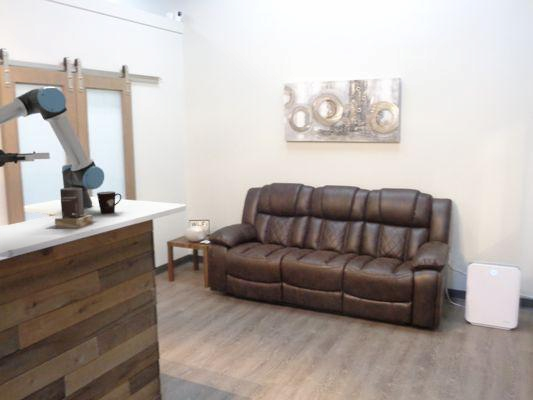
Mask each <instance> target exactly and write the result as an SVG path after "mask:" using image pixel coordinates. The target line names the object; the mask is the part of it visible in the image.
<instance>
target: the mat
mask: <svg viewBox="0 0 533 400" xmlns="http://www.w3.org/2000/svg"><path fill="white" fill-rule="evenodd" d="M95 223H98V221H95V220H93V223H91V224H89V225H93V224H95ZM89 225H86V226H89ZM86 226H83V227H80V228H78V227H56V226H55V225H51V226H49V227H45V228H44V229H45V230H79V229H81V228H84V227H86Z"/></svg>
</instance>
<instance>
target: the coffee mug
mask: <svg viewBox="0 0 533 400" xmlns="http://www.w3.org/2000/svg"><path fill="white" fill-rule="evenodd" d="M96 195H97V201H98V205H99V210H100V214H101V215H110V214H111V215H112V214H115V212H116V211H115V210H116V209H115V208H116V205H117V204H119V203H120V202H121V200H122V195H121V193H116V191H111V190H110V191H109V190H108V191H101V192H100V191H99V192H97V193H96ZM117 195H119V199H118V201H116V196H117Z"/></svg>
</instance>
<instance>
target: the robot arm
mask: <svg viewBox="0 0 533 400" xmlns="http://www.w3.org/2000/svg"><path fill="white" fill-rule="evenodd" d="M66 103H67V99H66V96H65V94H64V92H62V90H60V89H59V88H57V87H54V86H44V87H43V86H42V87H38V88H33V89H31V90H29V91H27V92H25V93H23V94H20V95H19V96H17V97H14V98H13V100H12V101H11V102H9V103H6V104H4V105H1V106H0V127H1V126H2V125H5V124H8V123H9V122H12V121H14V120H16V119H18V118H20V117H24V118H26V117H29V116H31V115H36V114H40V116H41V117H42V119H43V121H46V122H48V123H49V125H50V127H51V128H52V130H53V132H54V135H55V136H56V138H57V140H58V141H59V143H60V145H61V147H62V149H63V151H64V153H65V155H66V157H67V158H68V160H69V162H70V163H68V164H64V165H62V167H61V174H62V182H63V183H62V184H63V188H82V195H83V207H84V209H86V208H87V209H88V208H91V207H93V201H92V199H91V196H90V194H89V190H96V189H98V188H100V187H101V186H102V185H103V184H104V181H105V172H104V170H103V168H101V167H99V166H97V165H96V164H95V161H94V159H92V158H90V157H89V156H88V154H87V152H86V151H85V149H84V147H83V145H82V142H81V141H80V139H79V137H78V135H77V133H76V132H75V129H74V128H73V125H72V123H71V122H70V120H69V118H68V116H67V113H68V108H67V107H66ZM49 159H51V157H50V152H36V151H32V152H31V153H30V152H29V153H28V152H27V153H26V152H25V153H18V152H13V153H12V152H6V153H5V152H4V150H3V149H0V168H2V167H4V166H5V165H6V164H7V163H8V164H9V163H14V164H18V162H19V163H20V162H35V160H49ZM70 186H71V187H70Z"/></svg>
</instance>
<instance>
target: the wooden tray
mask: <svg viewBox="0 0 533 400" xmlns="http://www.w3.org/2000/svg"><path fill="white" fill-rule="evenodd" d="M79 216H80V218H78V219H74V218H61V217H60V218H57V217H56V218H54V224H55V226H56V227H78V228H79V229H81V228H80V227H82V228H84V227H86V225H87V226H89V224H90V225H92V224H94V223H93V221H94V219H93V214H84V215H79ZM91 223H92V224H91ZM83 226H84V227H83Z"/></svg>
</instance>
